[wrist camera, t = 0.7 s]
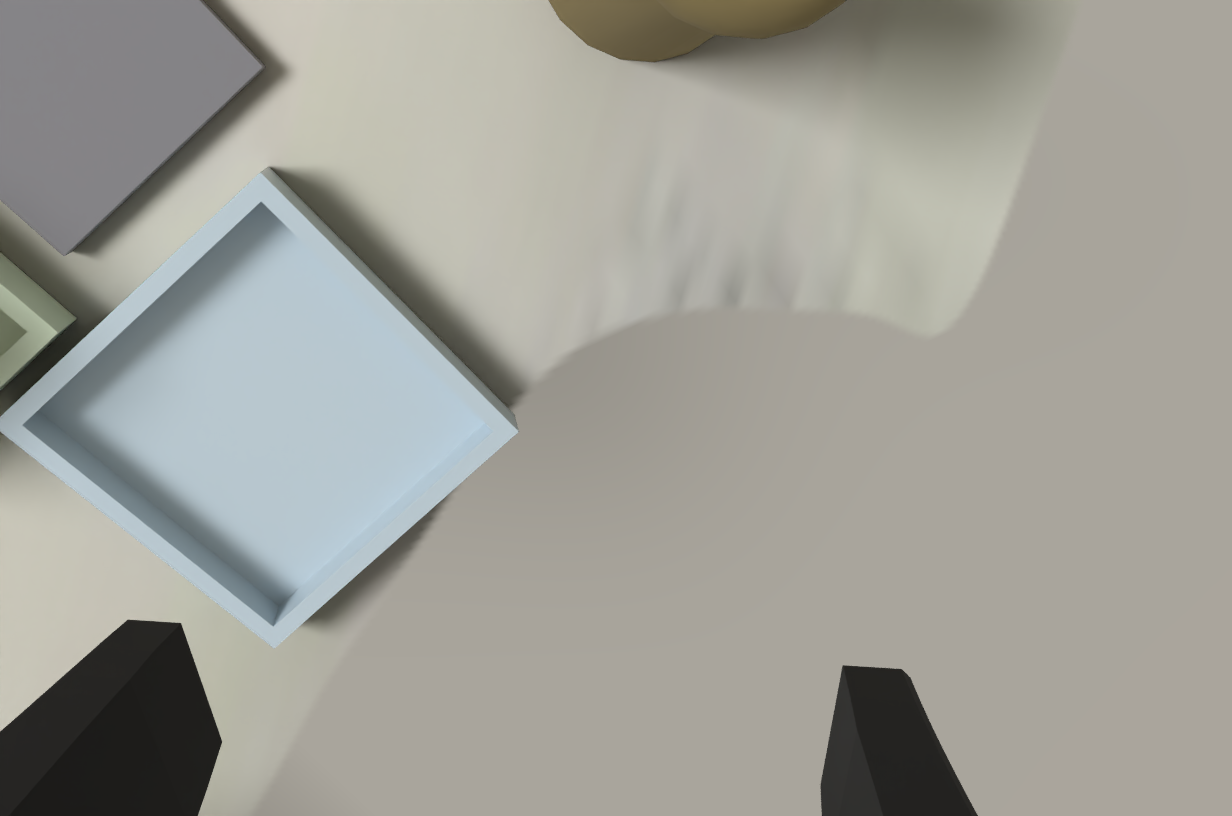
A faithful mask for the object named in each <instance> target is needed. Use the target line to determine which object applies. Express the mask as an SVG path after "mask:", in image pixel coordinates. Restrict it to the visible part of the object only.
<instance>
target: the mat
mask: <svg viewBox="0 0 1232 816" xmlns="http://www.w3.org/2000/svg"><path fill="white" fill-rule="evenodd" d="M265 67H266V66H265V65H264V64H263V63H262V62H261V61H260V60H259V59H258V58H257V57H256V56H255V55H254V54H253V52H252V51H251V50H250V49H249V48H248V47H247V46H246V45H245V44H244V43H243V42H242V41H241V40H240V39H239V38H238V37H237V36H236V35H235V33H234V32H233V31H232V30H231V29H230V28H229V27H228V26H227V25H226V24H225V23H224V22H223V21H222V20H221V19H220V18H219V17H218V16H217V15H216V13H215V12H214V11H213V10H212V9H211V8H210V7H209V6H208V5H207V4H206V3H205V2H204V1H203V0H0V200H1V201H2V202H3V203H4V204H5V205H6V206H8V207H9V208H10V209H11V210H12V211H13V212H14V213H16V214H17V215H18V216H19V217H20V218H21V219H22V220H23V221H25V222H26V223H27V224H28V225H29V226H30V227H31V228H32V229H34V230H35V231H36V232H37V233H38V234H39V235H40V236H41V237H43V238H44V239H45V240H46V241H47V242H48V243H49V244H51V245H52V246H53V247H54V248H55V249H56V250H57V251H58V252H60V253H61V254H62V255H63V256H65V255H67V254H69V253H70V252H72V251H73V250H74V249H75V248H76V247H77V246H78V245H79V244H80V243H81V242H82V241H83V240H84V239H85V238H87V237H88V236H89V235H90V234H91V233H92V232H93V231H94V230H95V229H96V228H97V227H98V226H99V225H100V224H101V223H102V222H103V221H104V220H105V219H107V218H108V217H109V216H110V215H111V214H112V213H113V212H114V211H115V210H116V209H117V208H118V207H119V206H120V205H121V204H122V203H123V202H124V201H125V200H127V199H128V198H129V197H130V196H131V195H132V194H133V193H134V192H135V191H136V190H137V189H138V188H139V187H140V186H141V185H142V184H143V183H144V182H145V181H147V180H148V179H149V178H150V177H151V176H152V175H153V174H154V173H155V172H156V171H157V170H158V169H159V168H160V167H161V166H162V165H163V164H164V163H165V162H166V161H168V160H169V159H170V158H171V157H172V156H173V155H174V154H175V153H176V152H177V151H178V150H179V149H180V148H181V147H182V146H183V145H184V144H185V143H186V142H188V141H189V140H190V139H191V138H192V137H193V136H194V135H195V134H196V133H197V132H198V131H199V130H200V129H201V128H202V127H203V126H204V125H205V124H206V123H208V122H209V121H210V120H211V119H212V118H213V117H214V116H215V115H216V114H217V113H218V112H219V111H220V110H221V109H222V108H223V107H224V106H225V105H226V104H228V103H229V102H230V101H231V100H232V99H233V98H234V97H235V96H236V95H237V94H238V93H239V92H240V91H241V90H242V89H243V88H244V87H245V86H246V85H248V84H249V83H250V82H251V81H252V80H253V79H254V78H255V77H256V76H257V75H258V74H259V73H260V72H261V71H262V70H263V69H264V68H265Z"/></svg>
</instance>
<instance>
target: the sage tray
mask: <svg viewBox="0 0 1232 816" xmlns="http://www.w3.org/2000/svg"><path fill="white" fill-rule="evenodd" d="M76 319H77V318H76V317H75V316H73V315H72V314H71V313H70V312H69V311H68V310H66V309H65V308H64V307H63V306H62V305H61V304H59V303H58V302H57V301H56V300H55V299H54V298H53V297H51V296H50V295H49V294H48V293H47V292H46V291H44V290H43V289H42V288H41V287H40V286H39V285H38V284H36V283H35V282H34V281H33V280H32V279H31V278H29V277H28V276H27V275H26V274H25V273H24V272H22V271H21V270H20V269H19V268H18V267H17V266H16V265H14V264H13V263H12V262H11V261H10V260H9V259H7V258H6V257H5V256H4V255H3V254H2V253H1V252H0V391H1V390H2V389H3V388H4V387H5V386H6V385H7V384H8V383H9V382H10V381H11V380H12V379H13V378H15V377H16V376H17V375H18V374H19V373H20V372H21V371H22V370H23V369H24V368H25V367H26V366H27V365H28V364H29V363H30V362H32V361H33V360H34V359H35V358H36V357H37V356H38V355H39V354H40V353H41V352H42V351H43V350H44V349H45V348H46V347H47V346H48V345H50V344H51V343H52V342H53V341H54V340H55V339H56V338H57V337H58V336H59V335H60V334H61V333H62V332H63V331H64V330H65V329H67V328H68V327H69V326H70V325H71V324H72V323H73V322H74V321H75V320H76Z"/></svg>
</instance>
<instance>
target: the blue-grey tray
mask: <svg viewBox="0 0 1232 816" xmlns="http://www.w3.org/2000/svg"><path fill="white" fill-rule="evenodd" d="M0 432H1V433H2V434H4V435H5V436H6V437H8V438H9V439H10V440H11V441H13V442H14V443H15V444H16V445H18V446H19V447H20V448H21V449H23V450H24V451H25V452H26V453H28V454H29V455H30V456H32V457H33V458H34V459H35V460H37V461H38V462H39V463H40V464H42V465H43V466H44V467H45V468H47V469H48V470H49V471H50V472H52V473H53V474H54V475H56V476H57V477H58V478H59V479H61V480H62V481H63V482H64V483H66V484H67V485H68V486H69V487H71V488H72V489H73V490H74V491H76V492H77V493H78V494H80V495H81V496H82V497H83V498H85V499H86V500H87V501H88V502H90V503H91V504H92V505H93V506H95V507H96V508H97V509H98V510H100V511H101V512H102V513H103V514H105V515H106V516H107V517H109V518H110V519H111V520H112V521H114V522H115V523H116V524H117V525H119V526H120V527H121V528H122V529H124V530H125V531H126V532H127V533H129V534H130V535H131V536H133V537H134V538H135V539H136V540H138V541H139V542H140V543H141V544H143V545H144V546H145V547H146V548H148V549H149V550H150V551H151V552H153V553H154V554H155V555H157V556H158V557H159V558H160V559H162V560H163V561H164V562H165V563H167V564H168V565H169V566H170V567H172V568H173V569H174V570H175V571H177V572H178V573H179V574H181V575H182V576H183V577H184V578H186V579H187V580H188V581H189V582H191V583H192V584H193V585H194V586H196V587H197V588H198V589H199V590H201V591H202V592H203V593H205V594H206V595H207V596H208V597H210V598H211V599H212V600H213V601H215V602H216V603H217V604H218V605H220V606H221V607H222V608H223V609H225V610H226V611H227V612H229V613H230V614H231V615H232V616H234V617H235V618H236V619H237V620H239V621H240V622H241V623H242V624H244V625H245V626H246V627H247V628H249V629H250V630H251V631H253V632H254V633H255V634H256V635H258V636H259V637H260V638H261V639H263V640H264V641H265V642H266V643H268V644H269V645H270V646H271V647H273V648H275V647H276V646H278V645H279V644H280V643H281V642H282V641H283V640H284V639H285V638H287V637H288V636H289V635H290V634H291V633H292V632H293V631H294V630H296V629H297V628H298V627H299V626H300V625H301V624H302V623H304V622H305V621H306V620H307V619H308V618H309V617H310V616H311V615H313V614H314V613H315V612H316V611H317V610H318V609H319V608H320V607H322V606H323V605H324V604H325V603H326V602H327V601H328V600H329V599H331V598H332V597H333V596H334V595H335V594H336V593H337V592H338V591H340V590H341V589H342V588H343V587H344V586H345V585H346V584H348V583H349V582H350V581H351V580H352V579H353V578H354V577H355V576H357V575H358V574H359V573H360V572H361V571H362V570H363V569H364V568H366V567H367V566H368V565H369V564H370V563H371V562H372V561H373V560H375V559H376V558H377V557H378V556H379V555H380V554H381V553H383V552H384V551H385V550H386V549H387V548H388V547H389V546H390V545H392V544H393V543H394V542H395V541H396V540H397V539H398V538H399V537H401V536H402V535H403V534H404V533H405V532H406V531H407V530H408V529H410V528H411V527H412V526H413V525H414V524H415V523H416V522H418V521H419V520H420V519H421V518H422V517H423V516H424V515H425V514H427V513H428V512H429V511H430V510H431V509H432V508H433V507H434V506H436V505H437V504H438V503H439V502H440V501H441V500H442V499H443V498H445V497H446V496H447V495H448V494H449V493H450V492H451V491H452V490H454V489H455V488H456V487H457V486H458V485H459V484H460V483H462V482H463V481H464V480H465V479H466V478H467V477H468V476H469V475H471V474H472V473H473V472H474V471H475V470H476V469H477V468H478V467H479V466H481V465H482V464H483V463H484V462H485V461H486V460H487V459H489V458H490V457H491V456H492V455H493V454H494V453H495V452H496V451H498V450H499V449H500V448H501V447H502V446H503V445H504V444H505V443H507V442H508V441H509V440H510V439H511V438H512V437H513V436H515V435H516V434H517V433H518V432H519V431H518V427H517V423H516V419H515V415H514V414H513V413H512V412H511V411H510V410H509V409H508V408H507V407H506V406H505V405H504V404H503V403H502V402H501V401H500V400H499V399H498V398H497V397H496V396H495V395H494V394H493V393H492V392H491V391H490V389H489V388H488V387H487V386H486V385H485V384H484V383H483V382H482V381H481V380H480V379H479V378H478V377H477V376H476V375H475V374H474V373H473V372H472V371H471V370H470V369H469V368H468V367H467V366H466V365H465V364H464V363H463V362H462V361H461V360H460V359H459V358H458V357H457V356H456V355H455V354H454V353H453V352H452V351H451V350H450V349H449V348H448V347H447V346H446V345H445V344H444V343H443V342H442V341H441V340H440V339H439V338H438V337H437V336H436V335H435V334H434V333H433V332H432V331H431V330H430V329H429V328H428V327H427V326H426V325H425V324H424V323H423V322H422V321H421V320H420V319H419V318H418V317H417V316H416V315H415V314H414V313H413V312H412V311H411V310H410V309H409V308H408V307H407V306H406V305H405V304H404V303H403V302H402V301H401V300H400V299H399V298H398V297H397V296H396V295H395V294H394V293H393V292H392V291H391V290H390V289H389V287H388V286H387V285H386V284H385V283H384V282H383V281H382V280H381V279H380V278H379V277H378V276H377V275H376V274H375V273H374V272H373V271H372V270H371V269H370V268H369V267H368V266H367V265H366V264H365V263H364V262H363V261H362V260H361V259H360V258H359V257H358V256H357V255H356V254H355V253H354V252H353V251H352V250H351V249H350V248H349V247H348V246H347V245H346V244H345V243H344V242H343V241H342V240H341V239H340V238H339V237H338V236H337V235H336V234H335V233H334V232H333V231H332V230H331V229H330V228H329V227H328V226H327V225H326V224H325V223H324V222H323V221H322V220H321V219H320V218H319V217H318V216H317V215H316V214H315V213H314V212H313V211H312V210H311V209H310V208H309V207H308V206H307V205H306V204H305V203H304V202H303V201H302V200H301V199H300V198H299V197H298V196H297V195H296V194H295V193H294V192H293V191H292V190H291V189H290V188H289V186H288V185H287V184H286V183H285V182H284V181H283V180H282V179H281V178H280V177H279V176H278V175H277V174H276V173H275V172H274V171H273V170H272V169H271V168H270V167H267V168H266V169H264V170H263V171H262V172H260V173H259V174H258V175H257V176H256V177H255V178H254V179H253V180H252V181H251V182H250V183H249V184H247V185H246V186H245V187H244V188H243V189H242V190H241V191H240V192H239V193H238V194H237V195H236V196H235V197H234V198H233V199H231V200H230V201H229V202H228V203H227V204H226V205H225V206H224V207H223V208H222V209H221V210H220V211H219V212H218V213H217V214H216V215H214V216H213V217H212V218H211V219H210V220H209V221H208V222H207V223H206V224H205V225H204V226H203V227H202V228H201V229H200V230H198V231H197V232H196V233H195V234H194V235H193V236H192V237H191V238H190V239H189V240H188V241H187V242H186V243H185V244H184V245H183V246H181V247H180V248H179V249H178V250H177V251H176V252H175V253H174V254H173V255H172V256H171V257H170V258H169V259H168V260H167V261H165V262H164V263H163V264H162V265H161V266H160V267H159V268H158V269H157V270H156V271H155V272H154V273H153V274H152V275H151V276H150V277H148V278H147V279H146V280H145V281H144V282H143V283H142V284H141V285H140V286H139V287H138V288H137V289H136V290H135V291H134V292H132V293H131V294H130V295H129V296H128V297H127V298H126V299H125V300H124V301H123V302H122V303H121V304H120V305H119V306H118V307H117V308H115V309H114V310H113V311H112V312H111V313H110V314H109V315H108V316H107V317H106V318H105V319H104V320H103V321H102V322H101V323H99V324H98V325H97V326H96V327H95V328H94V329H93V330H92V331H91V332H90V333H89V334H88V335H87V336H86V337H85V338H84V339H82V340H81V341H80V342H79V343H78V344H77V345H76V346H75V347H74V348H73V349H72V350H71V351H70V352H69V353H68V354H66V355H65V356H64V357H63V358H62V359H61V360H60V361H59V362H58V363H57V364H56V365H55V366H54V367H53V368H52V369H51V370H49V371H48V372H47V373H46V374H45V375H44V376H43V377H42V378H41V379H40V380H39V381H38V382H37V383H36V384H35V385H33V386H32V387H31V388H30V389H29V390H28V391H27V392H26V393H25V394H24V395H23V396H22V397H21V398H20V399H19V400H18V401H16V402H15V403H14V404H13V405H12V406H11V407H10V408H9V409H8V410H7V411H6V412H5V413H4V414H3V415H2V416H0Z"/></svg>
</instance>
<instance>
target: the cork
mask: <svg viewBox="0 0 1232 816" xmlns="http://www.w3.org/2000/svg"><path fill="white" fill-rule="evenodd" d="M845 1H846V0H549V2H550V3H551V5H552V7H553V8H554V10H555V12H556V14H557V15H558V17H559V19H560V20H561V21H562V22H563V23H564V24H565V25H566V26H567V27H568V28H570V29H571V30H572V31H573V32H574V33H575V34H576V35H577V36H578V37H579V38H581V39H582V40H583V41H584V42H585V43H586V44H587V45H589V46H591V47H593V48H596V49H598V50H600V51H603V52H605V53H607V54H609V55H612V56H614V57H616V58H618V59H623V60H635V61H648V62H657V61H660V60H664V59H668V58H672V57H676V56H679V55H683V54H687V53H689V52H691V51H692V50H694V49H695V48H697V47H698V46H700V45H701V44H703V43H704V42H706V41H707V40H709V39H710V38H712V37H713V36H715V35H718V36H730V37H742V38H753V39H765V38H769V37H772V36H776V35H780V34H784V33H788V32H791V31H795V30H799V29H803V28H806V27H808V26H810V25H811V24H813V23H814V22H816V21H817V20H819V19H820V18H822V17H823V16H825V15H826V14H828V13H829V12H831V11H832V10H834V9H835V8H837V7H838V6H840V5H841V4H843V3H844V2H845Z"/></svg>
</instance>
